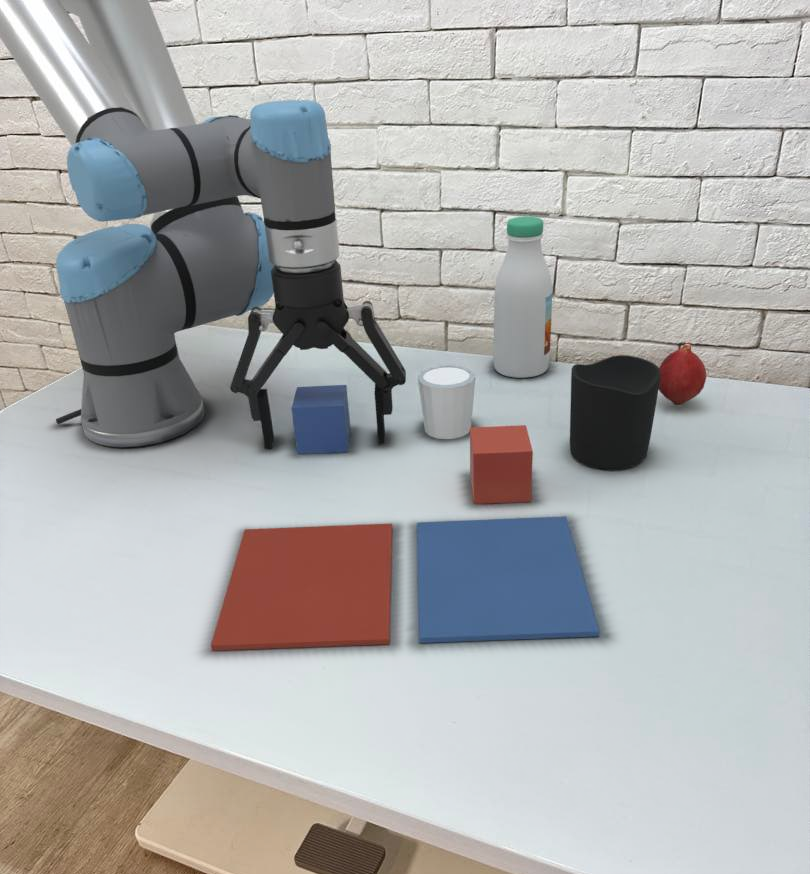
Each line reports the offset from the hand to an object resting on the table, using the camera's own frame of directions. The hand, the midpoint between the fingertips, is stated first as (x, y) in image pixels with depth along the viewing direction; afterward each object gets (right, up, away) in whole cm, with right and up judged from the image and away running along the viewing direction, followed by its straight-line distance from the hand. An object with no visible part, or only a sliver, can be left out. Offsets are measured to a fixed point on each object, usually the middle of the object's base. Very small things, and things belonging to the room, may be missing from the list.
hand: (325, 441), depth 103 cm
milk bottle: (+26, +12, +16) cm, 33 cm away
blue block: (0, 0, 0) cm, 0 cm away
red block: (+20, -6, -11) cm, 24 cm away
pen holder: (+33, -2, -6) cm, 33 cm away
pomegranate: (+44, +5, +4) cm, 44 cm away
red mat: (+1, -16, -24) cm, 29 cm away
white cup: (+15, +2, +2) cm, 15 cm away
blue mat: (+18, -15, -25) cm, 34 cm away
